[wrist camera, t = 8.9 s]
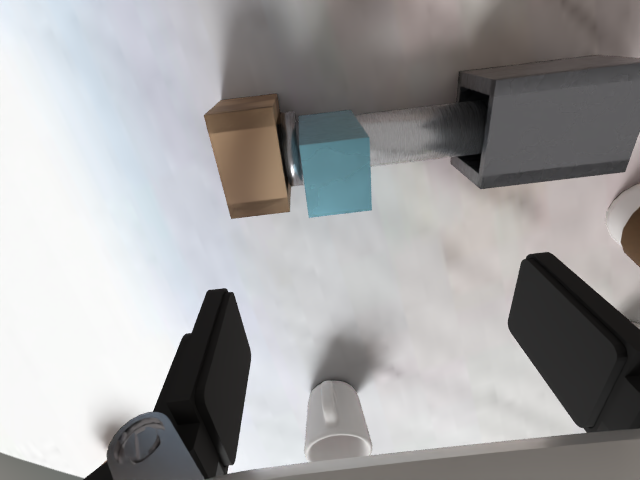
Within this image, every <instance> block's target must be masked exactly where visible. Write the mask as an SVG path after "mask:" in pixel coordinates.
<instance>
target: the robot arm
mask: <svg viewBox="0 0 640 480" xmlns="http://www.w3.org/2000/svg"><path fill="white" fill-rule="evenodd" d="M508 327H509V330H510V332H511V334H512V335H513V336H514V338H515V339H516V341H517V342H518V343H519V345H520V346H521V348H522V349H523V350H524V352H525V353H526V355H527V356H528V357H529V359H530V360H531V362H532V363H533V365H534V366H535V367H536V369H537V370H538V372H539V373H540V374H541V376H542V377H543V379H544V380H545V381H546V383H547V384H548V386H549V387H550V388H551V390H552V391H553V393H554V394H555V396H556V397H557V398H558V400H559V401H560V403H561V404H562V405H563V407H564V408H565V410H566V411H567V412H568V414H569V415H570V417H571V418H572V419H573V421H574V422H575V423H576V425H578V426H579V427H581V428H584V429H585V431H586V432H587V433H581V434H571V435H561V436H551V437H541V438H531V439H521V440H511V441H501V442H492V443H482V444H473V445H463V446H454V447H444V448H435V449H425V450H416V451H407V452H397V453H388V454H379V455H370V456H361V457H352V458H343V459H334V460H325V461H316V462H307V463H300V464H292V465H284V466H276V467H269V468H261V469H253V470H247V471H242V472H236V473H230V474H227V471H228V466H229V465H233V464H234V462H235V458H236V452H237V446H238V440H239V433H240V427H241V420H242V414H243V407H244V401H245V395H246V388H247V382H248V375H249V369H250V363H251V351H250V347H249V344H248V340H247V337H246V333H245V330H244V326H243V323H242V320H241V316H240V313H239V309H238V306H237V303H236V299H235V296H234V293H233V292H228V290H227V289H226V288H224V289H215V290H208V291H207V293H206V296H205V298H204V301H203V304H202V306H201V309H200V312H199V314H198V317H197V320H196V323H195V325H194V328H193V331H192V333H189V334H185V335H184V336H183V338H182V340H181V342H180V345H179V347H178V350H177V352H176V355H175V357H174V360H173V362H172V365H171V367H170V370H169V373H168V375H167V378H166V380H165V383H164V385H163V388H162V390H161V393H160V395H159V398H158V400H157V403H156V405H155V408H154V410H153V412H148V413H144V414H141V415H139V416H137V417H135V418H133V419H131V420H130V421H129V422H127V423H126V424H125V425H124V426H122V427H121V428H120V430H119V431H118V432H117V433H116V434H115V435H114V437H113V439H112V441H111V442H110V444H109V447H108V451H107V461H106V462H105V463H104V464H103V465H101V466H100V467H99V468H97V469H96V470H95V471H94V472H92V473H91V474H90V475H89V476H87V477H86V478H85V479H83V480H640V324H638V323H634V322H630V321H629V320H628V319H627V318H626V317H625V316H624V315H622V314H621V313H620V312H619V311H618V310H617V309H615V308H614V307H613V306H612V305H611V304H610V303H608V302H607V301H606V300H605V299H604V298H603V297H602V296H600V295H599V294H598V293H597V292H596V291H595V290H593V289H592V288H591V287H590V286H589V285H588V284H586V283H585V282H584V281H583V280H582V279H581V278H580V277H578V276H577V275H576V274H575V273H574V272H573V271H571V270H570V269H569V268H568V267H567V266H566V265H564V264H563V263H562V262H561V261H560V260H559V259H557V258H556V257H555V256H554V255H553V254H551V253H549V252H544V253H535V254H529V255H528V256H527V257H526V259H524V260H523V261H522V262H521V266H520V270H519V274H518V279H517V283H516V288H515V292H514V296H513V301H512V305H511V310H510V314H509V318H508Z"/></svg>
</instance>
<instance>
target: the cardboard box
mask: <svg viewBox="0 0 640 480" xmlns="http://www.w3.org/2000/svg"><path fill="white" fill-rule="evenodd" d="M204 118H205V122H206V126H207V129H208V133H209V137H210V141H211V144H212V148H213V152H214V156H215V160H216V163H217V167H218V171H219V175H220V178H221V182H222V186H223V190H224V194H225V197H226V201H227V205H228V209H229V212H230V216H231V219H233V218H242V217H250V216H259V215H267V214H275V213H284V212H290V194H291V186H290V184H289V180H288V177H285V175H284V169H283V163H282V157H281V151H280V145H279V138H278V132H277V126H276V124H280V109H279V103H278V96H277V94H268V95H260V96H252V97H244V98H235V99H227V100H221V101H220V102H218V103H217V104H216V105H215V106H214V107H213V108H212V109H211V110H209V111H208V112H207V113H206V114H205V115H204Z"/></svg>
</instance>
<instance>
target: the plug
mask: <svg viewBox="0 0 640 480" xmlns="http://www.w3.org/2000/svg"><path fill="white" fill-rule="evenodd" d="M488 103H489V100H488V99H485V100H477V101H468V102H460V103H452V104H443V105H435V106H427V107H418V108H410V109H402V110H393V111H385V112H377V113H368V114H360V115H354V114H353V113H352V111H351V110H345V111H336V112H328V113H320V114H311V115H303V116H299V122H296V119H295V113H294V111H291V112H282V113H280V124H276V126H277V132H278V138H279V145H280V151H281V157H282V163H283V169H284V175H285V177H288V180H289V184H290V186H300V185H303V178H304V185H305V192H306V200H307V207H308V215H309V218H310V217H319V216H327V215H336V214H344V213H352V212H361V211H369V210H372V204H371V171H370V167H372V166H381V165H389V164H397V163H406V162H414V161H422V160H431V159H439V158H448V157H456V156H464V155H473V154H481V153H482V147H483V140H484V132H485V125H486V118H487V111H488Z"/></svg>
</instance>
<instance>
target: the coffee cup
mask: <svg viewBox="0 0 640 480" xmlns="http://www.w3.org/2000/svg"><path fill="white" fill-rule="evenodd" d="M605 223H606V226H607V229H608V231H609V234H610V236H611V237H612V238H613V239H614V240H615V241H616V242H617V243H618V244H619V245H620V246H621V247H622V248H623V250H624V252H625V253H626V254H627V255H628V256H629V257H630V258H631V259H632V260H633V261H634V262H635V263H636V264H637V265H638V266H639V267H640V184H637V185H634V186H632V187H631V188H629V189H627V190H625V191H624V192H622V193H621V194H620V195H619V196H618V197H617V198H616V199H615V200H614V201H613V202H612V204H611V206H610V207H609V209H608V211H607V213H606V219H605Z"/></svg>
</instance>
